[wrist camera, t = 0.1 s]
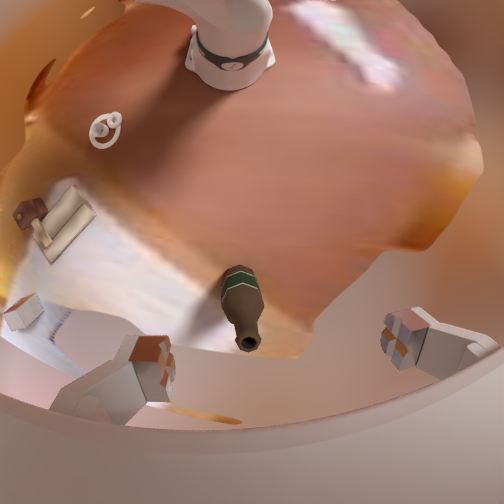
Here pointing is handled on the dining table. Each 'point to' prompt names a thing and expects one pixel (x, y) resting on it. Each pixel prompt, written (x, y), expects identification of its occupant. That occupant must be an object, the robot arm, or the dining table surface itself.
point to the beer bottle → (242, 305)
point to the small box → (23, 312)
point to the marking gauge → (33, 218)
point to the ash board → (65, 222)
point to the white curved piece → (105, 129)
